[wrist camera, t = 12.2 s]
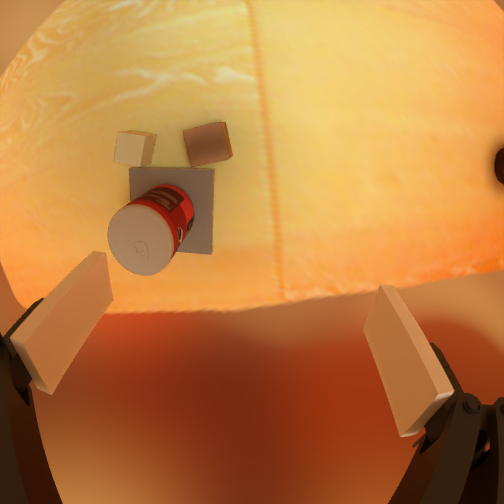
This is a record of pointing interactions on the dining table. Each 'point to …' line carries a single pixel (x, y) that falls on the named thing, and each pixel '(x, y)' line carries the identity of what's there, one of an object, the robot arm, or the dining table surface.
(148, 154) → the beige block
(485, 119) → the dining table surface
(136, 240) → the canned food
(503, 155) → the coffee mug
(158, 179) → the slate coaster
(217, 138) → the walnut block
